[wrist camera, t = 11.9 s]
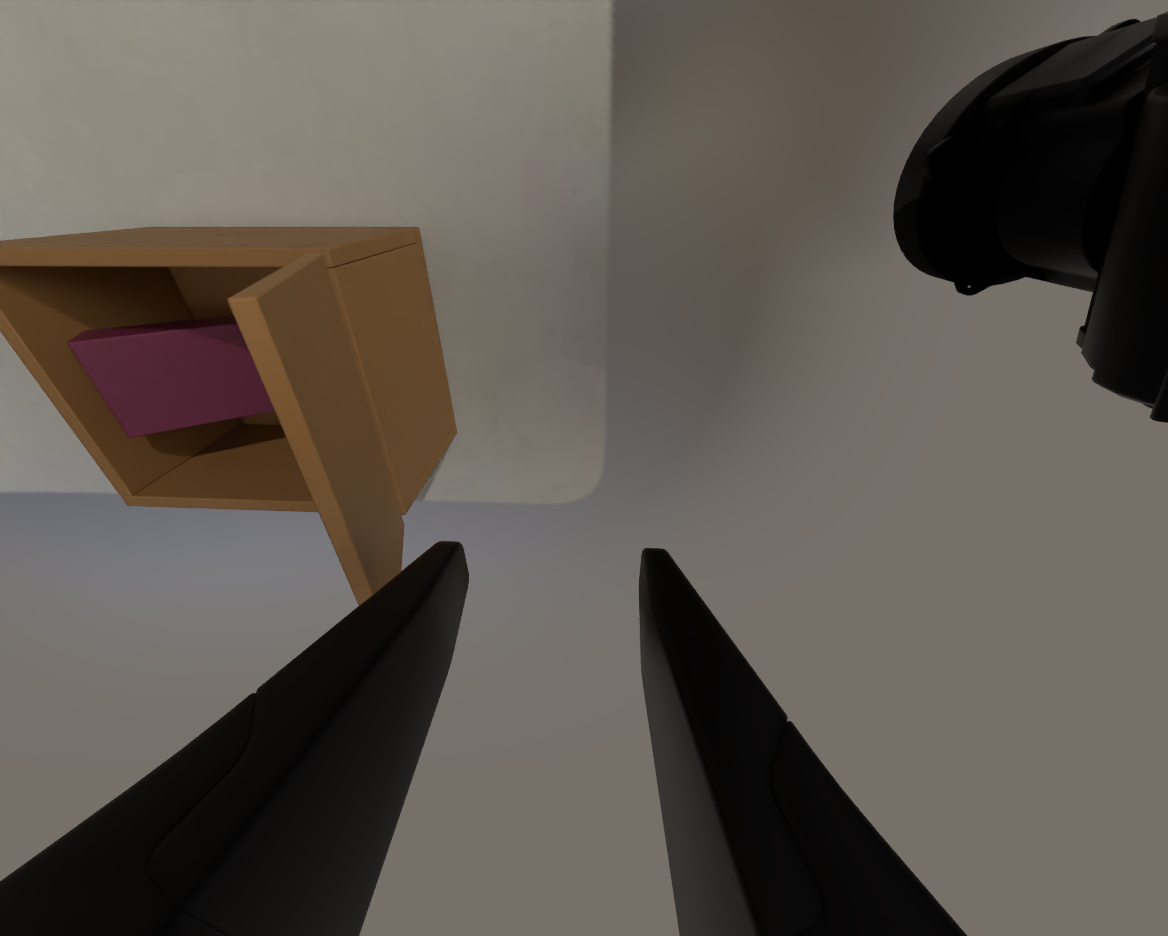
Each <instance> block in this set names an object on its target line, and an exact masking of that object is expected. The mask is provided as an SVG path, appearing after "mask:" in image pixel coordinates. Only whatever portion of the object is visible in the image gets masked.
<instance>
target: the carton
mask: <svg viewBox="0 0 1168 936" xmlns="http://www.w3.org/2000/svg"><path fill="white" fill-rule="evenodd" d="M308 253H322V254H323V256H324V259H325V262H326V266H327V269H328V272H329V276H330V279H331V282H332V286H333V289H334V292H335V296H336V299H337V302H338V306H339V309H340V312H341V316H342V319H343V322H344V326H345V329H346V333H347V336H348V339H349V343H350V346H351V349H352V353H353V356H354V359H355V363H356V366H357V369H358V373H359V376H360V379H361V383H362V386H363V389H364V393H365V396H366V399H367V403H368V406H369V409H370V413H371V416H372V419H373V423H374V426H375V429H376V433H377V436H378V439H379V443H380V446H381V449H382V453H383V456H384V459H385V463H386V466H387V469H388V473H389V476H390V479H391V483H392V486H393V489H394V493H395V496H396V499H397V503H398V506H399V509H400V513H401V515H405V514H406V513H407V511H408V510H409V508H410V506H411V505H412V503H413V502H414V500H415V499H416V497H417V495H418V494H419V492H420V491H421V489H422V487H423V486H424V484H425V483H426V481H427V479H428V478H429V476H430V475H431V473H432V471H433V470H434V468H435V467H436V465H437V463H438V462H439V460H440V459H441V457H442V455H443V454H444V452H445V451H446V449H447V447H448V446H449V444H450V443H451V441H452V440H453V438H454V436H455V435H456V433H457V430H456V425H455V419H454V414H453V408H452V403H451V398H450V392H449V387H448V381H447V376H446V371H445V365H444V360H443V354H442V349H441V344H440V338H439V333H438V327H437V322H436V316H435V311H434V306H433V300H432V295H431V289H430V284H429V279H428V273H427V268H426V262H425V257H424V252H423V246H422V241H421V235H420V230H419V228H418V227H145V228H134V229H123V230H112V231H102V232H91V233H80V234H69V235H58V236H47V237H37V238H26V239H15V240H4V241H0V332H1V333H2V334H3V336H4V337H5V339H6V340H7V341H8V343H9V344H10V345H11V347H12V348H13V350H14V351H15V352H16V354H17V355H18V356H19V358H20V359H21V360H22V362H23V363H24V365H25V366H26V367H27V369H28V370H29V371H30V373H31V374H32V376H33V377H34V378H35V380H36V381H37V382H38V384H39V385H40V387H41V388H42V389H43V391H44V392H45V393H46V395H47V396H48V397H49V399H50V400H51V402H52V403H53V404H54V406H55V407H56V408H57V410H58V411H59V413H60V414H61V415H62V417H63V418H64V419H65V421H66V422H67V424H68V425H69V426H70V428H71V429H72V430H73V432H74V433H75V434H76V436H77V437H78V439H79V440H80V441H81V443H82V444H83V445H84V447H85V448H86V450H87V451H88V452H89V454H90V455H91V456H92V458H93V459H94V461H95V462H96V463H97V465H98V466H99V467H100V469H101V470H102V471H103V473H104V474H105V476H106V477H107V478H108V480H109V481H110V482H111V484H112V485H113V487H114V488H115V489H116V491H117V492H118V493H119V495H122V496H121V497H122V499H123V500H124V502H125V503H126V504H127V505H128V506H149V507H181V508H211V509H241V510H242V509H243V510H244V509H245V510H274V511H304V512H318V510H317V507H316V505H315V503H314V500H313V498H312V496H311V493H310V491H309V489H308V486H307V484H306V482H305V479H304V477H303V475H302V473H301V470H300V468H299V466H298V463H297V461H296V459H295V456H294V454H293V452H292V449H291V447H290V445H289V442H288V440H287V438H286V435H285V433H284V431H283V428H282V426H281V424H280V421H279V419H278V417H277V414H276V412H275V411H273V412H267V413H262V414H257V415H251V416H246V417H241V418H235V419H230V420H224V421H219V422H214V423H208V424H203V425H198V426H192V427H187V428H181V429H176V430H171V431H165V432H160V433H155V434H149V435H144V436H138V437H133V438H130V437H128V435H127V434H126V432H125V431H124V429H123V428H122V426H121V425H120V423H119V422H118V420H117V419H116V417H115V416H114V414H113V412H112V411H111V409H110V408H109V406H108V405H107V403H106V402H105V400H104V399H103V397H102V396H101V394H100V393H99V391H98V390H97V388H96V387H95V385H94V384H93V382H92V380H91V379H90V377H89V376H88V374H87V373H86V371H85V370H84V368H83V367H82V365H81V364H80V362H79V361H78V359H77V358H76V356H75V355H74V353H73V352H72V350H71V348H70V347H69V345H68V343H67V342H68V341H70V340H71V339H73V338H74V337H75V336H77V335H78V334H80V333H81V332H83V331H87V330H96V329H106V328H115V327H125V326H134V325H144V324H153V323H163V322H172V321H182V320H191V319H201V318H210V317H220V316H229V315H233V312H232V310H231V308H230V305H229V303H228V298H230V297H232V296H233V295H235V294H237V293H239V292H240V291H242V290H244V289H246V288H247V287H249V286H251V285H253V284H254V283H256V282H258V281H260V280H261V279H263V278H265V277H267V276H268V275H270V274H272V273H274V272H275V271H277V270H279V269H281V268H282V267H284V266H286V265H288V264H289V263H291V262H293V261H295V260H296V259H298V258H300V257H302V256H303V255H305V254H308Z"/></svg>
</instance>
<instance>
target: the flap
mask: <svg viewBox="0 0 1168 936" xmlns="http://www.w3.org/2000/svg"><path fill="white" fill-rule="evenodd" d="M228 303H229V305H230V308H231V310H232V312H233V315H234V317H235V319H236V322H237V324H238V326H239V329H240V331H241V333H242V336H243V338H244V340H245V343H246V345H247V347H248V349H249V352H250V354H251V356H252V359H253V361H254V363H255V366H256V368H257V370H258V373H259V375H260V377H261V380H262V382H263V384H264V387H265V389H266V391H267V394H268V396H269V398H270V401H271V403H272V405H273V408H274V410H275V412H276V414H277V417H278V419H279V421H280V424H281V426H282V428H283V431H284V433H285V435H286V438H287V440H288V442H289V445H290V447H291V449H292V452H293V454H294V456H295V459H296V461H297V463H298V466H299V468H300V470H301V473H302V475H303V477H304V479H305V482H306V484H307V486H308V489H309V491H310V493H311V496H312V498H313V500H314V503H315V505H316V507H317V510H318V512H319V514H320V516H321V519H322V521H323V524H324V526H325V528H326V530H327V533H328V535H329V537H330V540H331V542H332V544H333V547H334V549H335V551H336V554H337V556H338V558H339V561H340V563H341V565H342V568H343V570H344V572H345V575H346V577H347V579H348V582H349V584H350V586H351V588H352V590H353V593H354V595H355V597H356V600H357V603H358V605H359V606H360V605H361V604H362V603H363V602H365V601H366V600H367V599H368V598H369V597H371V596H372V595H373V594H374V593H376V592H377V591H378V590H379V589H380V588H382V587H383V586H384V585H385V584H387V583H388V582H389V581H390V580H391V579H393V578H394V577H395V576H396V575H398V574H399V573H400V572H401V565H402V551H403V535H404V523H403V520H402V516H401V513H400V509H399V506H398V503H397V499H396V496H395V493H394V489H393V486H392V483H391V479H390V476H389V473H388V469H387V466H386V463H385V459H384V456H383V453H382V449H381V446H380V443H379V439H378V436H377V433H376V429H375V426H374V423H373V419H372V416H371V413H370V409H369V406H368V403H367V399H366V396H365V393H364V389H363V386H362V383H361V379H360V376H359V373H358V369H357V366H356V363H355V359H354V356H353V353H352V349H351V346H350V343H349V339H348V336H347V333H346V329H345V326H344V322H343V319H342V316H341V312H340V309H339V306H338V302H337V299H336V296H335V292H334V289H333V286H332V282H331V279H330V276H329V272H328V269H327V266H326V262H325V259H324V256H323V254H322V253H308V254H305V255H303V256H302V257H300V258H298V259H296V260H295V261H293V262H291V263H289V264H288V265H286V266H284V267H282V268H281V269H279V270H277V271H275V272H274V273H272V274H270V275H268V276H267V277H265V278H263V279H261V280H260V281H258V282H256V283H254V284H253V285H251V286H249V287H247V288H246V289H244V290H242V291H240V292H239V293H237V294H235V295H233V296H232V297H230V298H228Z"/></svg>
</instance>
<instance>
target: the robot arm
mask: <svg viewBox="0 0 1168 936" xmlns="http://www.w3.org/2000/svg"><path fill="white" fill-rule="evenodd" d="M983 111H984V112H983V113H982V114H980V115H979V116H977V117H976V118H974V119H973V120H971V121H970V122H968V123H967V124H965V125H964V126H963V127H961V128H960V129H958V130H957V131H955V132H954V133H952V134H951V135H949V136H948V137H946V138H945V139H943V140H942V141H940V142H939V143H937V144H936V145H934V146H933V147H932V148H931V149H930V150H928V152H927V153H926V155H925V156H924V159H923V163H922V164H923V171H924V175H925V179H926V182H927V186H928V190H929V193H930V197H931V200H932V204H933V208H934V211H935V215H936V219H937V222H938V226H939V230H940V233H941V237H942V241H943V244H944V248H945V252H946V255H947V259H948V263H949V266H950V270H951V274H952V277H953V281H954V285H955V288H956V290H957V292H958V293H961V294H963V295H967V296H972V295H975V294H977V293H979V292H981V291H983V290H985V289H987V288H988V287H990V286H992V285H994V284H996V283H998V282H999V281H1001V280H1003V279H1005V278H1007V277H1009V276H1011V275H1012V274H1014V275H1019V276H1023V277H1028V278H1032V279H1036V280H1041V281H1046V282H1050V283H1055V284H1059V285H1064V286H1068V287H1072V288H1077V289H1081V290H1085V291H1090V292H1093V295H1092V299H1091V302H1090V307H1089V310H1088V314H1087V318H1086V322H1085V325H1084V326H1081V327H1080V329H1079V333H1078V337H1077V341H1076V343H1077V344H1078V345H1079V346H1080V347H1081V348H1082V352H1081V353H1082V355H1083V356H1084V358H1085V359H1086V361H1087V363H1088V364H1089V366H1090V367H1091V368H1092V369H1094V373H1093V377H1092V380H1093V381H1094V382H1095V383H1097V384H1098V385H1100V386H1101V387H1103V388H1105V389H1107V390H1109V391H1111V392H1113V393H1115V394H1117V395H1119V396H1121V397H1124V398H1127V399H1131V400H1134V401H1137V402H1140V403H1143V404H1144V405H1146V406H1147V407H1150V408H1152V409H1153V410H1152V412H1151V415H1150V418H1151V419H1152V420H1155V421H1159V422H1167V423H1168V12H1166V13H1163V14H1160V15H1158V16H1157V17H1156V18H1153V19H1150V20H1146V21H1143V22H1141V21H1139V20H1137V19H1129V20H1126V21H1123V22H1120V23H1117V24H1115V25H1113V26H1111V27H1110V28H1108V29H1107V30H1105V31H1104V32H1102V33H1101V34H1099V35H1097V36H1094V37H1091V38H1088V39H1084V40H1081V41H1078V42H1075V43H1072V44H1069V45H1068V46H1066V47H1064V48H1063V49H1062V50H1060V51H1059V52H1057V53H1056V54H1054V55H1053V56H1051V57H1050V58H1048V59H1047V60H1045V61H1044V62H1042V63H1041V64H1039V65H1038V66H1037V67H1035V68H1034V69H1032V70H1031V71H1029V72H1028V73H1026V74H1025V75H1023V76H1022V77H1020V78H1019V79H1017V80H1016V81H1015V82H1013V83H1012V84H1010V85H1009V86H1007V87H1006V88H1004V89H1003V90H1001V91H1000V92H998V93H997V94H995V95H994V96H992V97H991V98H990V99H989V101H988V102H987V104H986V105H985V107H984V108H983ZM941 152H943V153H944V159H943V161H942V163H940V164H939V165H938V166H937V165H936V158H937V156H938V155H939V154H940V153H941ZM973 278H975V282H974V283H973V285H972V286H970V287H968V284H969V282H970V281H971V280H972V279H973ZM468 583H469V572H468V568H467V563H466V558H465V553H464V549H463V546H462V544H461V543H460V542H453V541H440V542H438V543H436V544H434V545H433V546H432V547H431V548H430V549H428V550H427V551H426V552H425V553H423V554H422V555H421V556H420V557H418V558H417V559H416V560H415V561H414V562H412V563H411V564H410V565H409V566H408V567H406V568H405V569H404V570H403V571H401V572H400V573H399V574H398V575H396V576H395V577H394V578H393V579H391V580H390V581H389V582H388V583H387V584H385V585H384V586H383V587H382V588H380V589H379V590H378V591H377V592H376V593H374V594H373V595H372V596H371V597H369V598H368V599H367V600H366V601H365V602H363V603H362V604H361V605H360V606H358V607H357V608H356V609H355V610H353V611H352V612H351V613H350V614H349V615H347V616H346V617H345V618H344V619H342V620H341V621H340V622H339V623H338V624H336V625H335V626H334V627H333V628H331V629H330V630H329V631H328V632H326V633H325V634H324V635H323V636H322V637H320V638H319V639H318V640H317V641H316V642H314V643H313V644H312V645H311V646H309V647H308V648H307V649H306V650H304V651H303V652H302V653H301V654H300V655H298V656H297V657H296V658H295V659H293V660H292V661H291V662H290V663H289V664H287V665H286V666H285V667H284V668H283V669H281V670H280V671H279V672H277V673H276V674H275V675H274V676H273V677H271V678H270V679H269V680H268V681H266V682H265V683H264V684H263V685H262V686H260V687H259V688H258V689H257V692H256V693H252V694H250V695H249V696H248V697H247V698H245V699H244V700H243V701H242V702H240V703H239V704H238V705H237V706H236V707H234V708H233V709H232V710H231V711H230V712H228V713H227V714H226V715H224V716H223V717H222V718H221V719H220V720H218V721H217V722H216V723H214V724H213V725H212V726H210V727H209V728H208V729H207V730H205V731H204V732H203V733H202V734H200V735H199V736H198V737H197V738H195V739H194V740H193V741H191V742H190V743H189V744H188V745H186V746H185V747H184V748H183V749H181V750H180V751H179V752H177V753H176V754H175V755H173V756H172V757H171V758H169V759H168V760H167V761H165V762H164V763H162V764H161V765H160V766H158V767H157V768H156V769H154V770H153V771H152V772H151V773H149V774H148V775H146V776H145V777H144V778H142V779H141V780H140V781H138V782H137V783H136V784H135V785H133V786H132V787H130V788H129V789H127V790H126V791H125V792H123V793H122V794H121V795H119V796H118V797H117V798H115V799H114V800H112V801H111V802H110V803H108V804H107V805H105V806H104V807H103V808H101V809H100V810H98V811H97V812H96V813H94V814H93V815H91V816H90V817H89V818H88V819H86V820H85V821H83V822H82V823H80V824H79V825H78V826H77V827H75V828H74V829H72V830H71V831H69V832H68V833H67V834H65V835H64V836H62V837H61V838H60V839H58V840H57V841H55V842H54V843H53V844H51V845H50V846H49V847H47V848H46V849H44V850H43V851H42V852H40V853H39V854H38V855H36V856H35V857H33V858H32V859H31V860H29V861H28V862H26V863H25V864H24V865H22V866H21V867H20V868H18V869H17V870H15V871H14V872H13V873H11V874H10V875H8V876H7V877H6V878H4V879H3V880H2V881H0V936H359V934H360V931H361V928H362V926H363V923H364V920H365V917H366V914H367V911H368V908H369V905H370V902H371V899H372V896H373V893H374V890H375V887H376V884H377V881H378V878H379V875H380V872H381V869H382V866H383V863H384V860H385V857H386V854H387V852H388V849H389V845H390V842H391V840H392V837H393V834H394V831H395V828H396V825H397V822H398V819H399V816H400V813H401V810H402V807H403V804H404V801H405V798H406V795H407V793H408V790H409V786H410V784H411V781H412V778H413V775H414V772H415V769H416V766H417V763H418V760H419V757H420V754H421V751H422V748H423V745H424V742H425V739H426V736H427V733H428V730H429V727H430V725H431V721H432V718H433V716H434V712H435V710H436V707H437V704H438V701H439V698H440V695H441V692H442V689H443V686H444V683H445V680H446V677H447V674H448V671H449V668H450V664H451V661H452V656H453V652H454V648H455V643H456V639H457V634H458V629H459V625H460V621H461V616H462V611H463V607H464V602H465V598H466V593H467V589H468ZM639 613H640V646H641V647H640V648H641V649H640V650H641V671H642V679H643V688H644V695H645V702H646V708H647V715H648V722H649V729H650V735H651V743H652V749H653V756H654V763H655V770H656V776H657V784H658V790H659V797H660V804H661V810H662V817H663V824H664V831H665V837H666V844H667V852H668V859H669V866H670V872H671V879H672V886H673V893H674V899H675V906H676V913H677V919H678V927H679V934H680V936H967V935H966V934H965V933H964V931H963V930H962V929H961V928H960V927H959V926H958V924H957V923H956V922H955V921H954V920H953V919H952V917H951V916H950V915H949V914H948V913H947V912H946V911H945V909H944V908H943V907H942V906H941V905H940V904H939V903H938V901H937V900H936V899H935V898H934V897H933V895H932V894H931V893H930V892H929V891H928V890H927V888H926V887H925V886H924V885H923V884H922V883H921V882H920V880H919V879H918V878H917V877H916V876H915V875H914V873H913V872H912V871H911V870H910V869H909V868H908V866H907V865H906V864H905V863H904V862H903V861H902V860H901V858H900V857H899V856H898V855H897V854H896V853H895V851H894V850H893V849H892V848H891V847H890V845H889V844H888V843H887V842H886V841H885V840H884V839H883V837H882V836H881V835H880V834H879V833H878V831H877V830H876V829H875V828H874V827H873V825H872V824H871V823H870V822H869V821H868V820H867V818H866V817H865V816H864V815H863V813H862V812H861V811H860V810H859V809H858V807H857V806H856V805H855V804H854V803H853V802H852V800H851V799H850V798H849V797H848V795H847V794H846V793H845V792H844V791H843V789H842V788H841V787H840V786H839V784H838V783H837V782H836V780H835V779H834V778H833V776H832V775H831V774H830V772H829V771H828V770H827V769H826V767H825V766H824V765H823V763H822V762H821V761H820V760H819V758H818V757H817V755H816V754H815V753H814V752H813V750H812V749H811V748H810V746H809V745H808V743H807V742H806V741H805V739H804V738H803V737H802V735H801V734H800V732H799V731H798V730H797V728H796V727H795V726H794V724H793V723H792V722H791V721H788V722H787V718H788V717H787V715H786V714H785V712H784V711H783V710H782V708H781V707H780V705H779V704H778V703H777V701H776V700H775V699H774V697H773V696H772V694H771V693H770V692H769V690H768V689H767V688H766V686H765V685H764V683H763V682H762V681H761V679H760V678H759V677H758V675H757V674H756V672H755V671H754V670H753V668H752V667H751V666H750V664H749V663H748V661H747V660H746V659H745V658H744V656H743V655H742V653H741V652H740V651H739V649H738V648H737V646H736V645H735V644H734V642H733V641H732V640H731V638H730V637H729V636H728V634H727V633H726V631H725V630H724V629H723V627H722V626H721V625H720V623H719V622H718V620H717V619H716V618H715V616H714V615H713V614H712V612H711V611H710V609H709V608H708V607H707V605H706V604H705V603H704V601H703V600H702V599H701V597H700V596H699V595H698V593H697V592H696V590H695V589H694V588H693V586H692V585H691V584H690V582H689V581H688V579H687V578H686V577H685V575H684V574H683V572H682V571H681V570H680V568H679V567H678V566H677V564H676V563H675V562H674V560H673V559H672V558H671V556H670V555H669V553H668V552H667V551H666V550H665V549H658V548H645V549H644V550H643V551H642V556H641V566H640V577H639ZM786 722H787V723H786Z"/></svg>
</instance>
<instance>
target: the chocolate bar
mask: <svg viewBox="0 0 1168 936" xmlns="http://www.w3.org/2000/svg"><path fill="white" fill-rule="evenodd" d="M67 343H68V345H69V347H70V348H71V350H72V352H73V353H74V355H75V356H76V358H77V359H78V361H79V362H80V364H81V365H82V367H83V368H84V370H85V371H86V373H87V374H88V376H89V377H90V379H91V380H92V382H93V384H94V385H95V387H96V388H97V390H98V391H99V393H100V394H101V396H102V397H103V399H104V400H105V402H106V403H107V405H108V406H109V408H110V409H111V411H112V412H113V414H114V416H115V417H116V419H117V420H118V422H119V423H120V425H121V426H122V428H123V429H124V431H125V432H126V434H127V435H128V437H130V438H133V437H138V436H144V435H149V434H155V433H160V432H165V431H171V430H176V429H181V428H187V427H192V426H198V425H203V424H208V423H214V422H219V421H224V420H230V419H235V418H241V417H246V416H251V415H257V414H262V413H267V412H273V411H275V410H274V408H273V405H272V403H271V401H270V398H269V396H268V394H267V391H266V389H265V387H264V384H263V382H262V380H261V377H260V375H259V373H258V370H257V368H256V366H255V363H254V361H253V359H252V356H251V354H250V352H249V349H248V347H247V345H246V343H245V340H244V338H243V336H242V333H241V331H240V329H239V326H238V324H237V322H236V319H235V317H234V315H229V316H220V317H210V318H201V319H191V320H182V321H172V322H163V323H153V324H144V325H134V326H125V327H115V328H106V329H96V330H87V331H83V332H81V333H80V334H78V335H77V336H75V337H74V338H73V339H71V340H70V341H68V342H67Z"/></svg>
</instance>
